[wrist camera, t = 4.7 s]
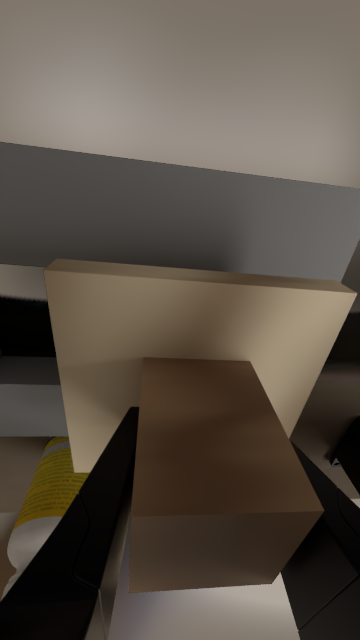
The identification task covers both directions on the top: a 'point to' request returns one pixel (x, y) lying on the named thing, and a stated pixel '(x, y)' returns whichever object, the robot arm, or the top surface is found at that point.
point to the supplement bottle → (44, 503)
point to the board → (153, 237)
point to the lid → (197, 407)
